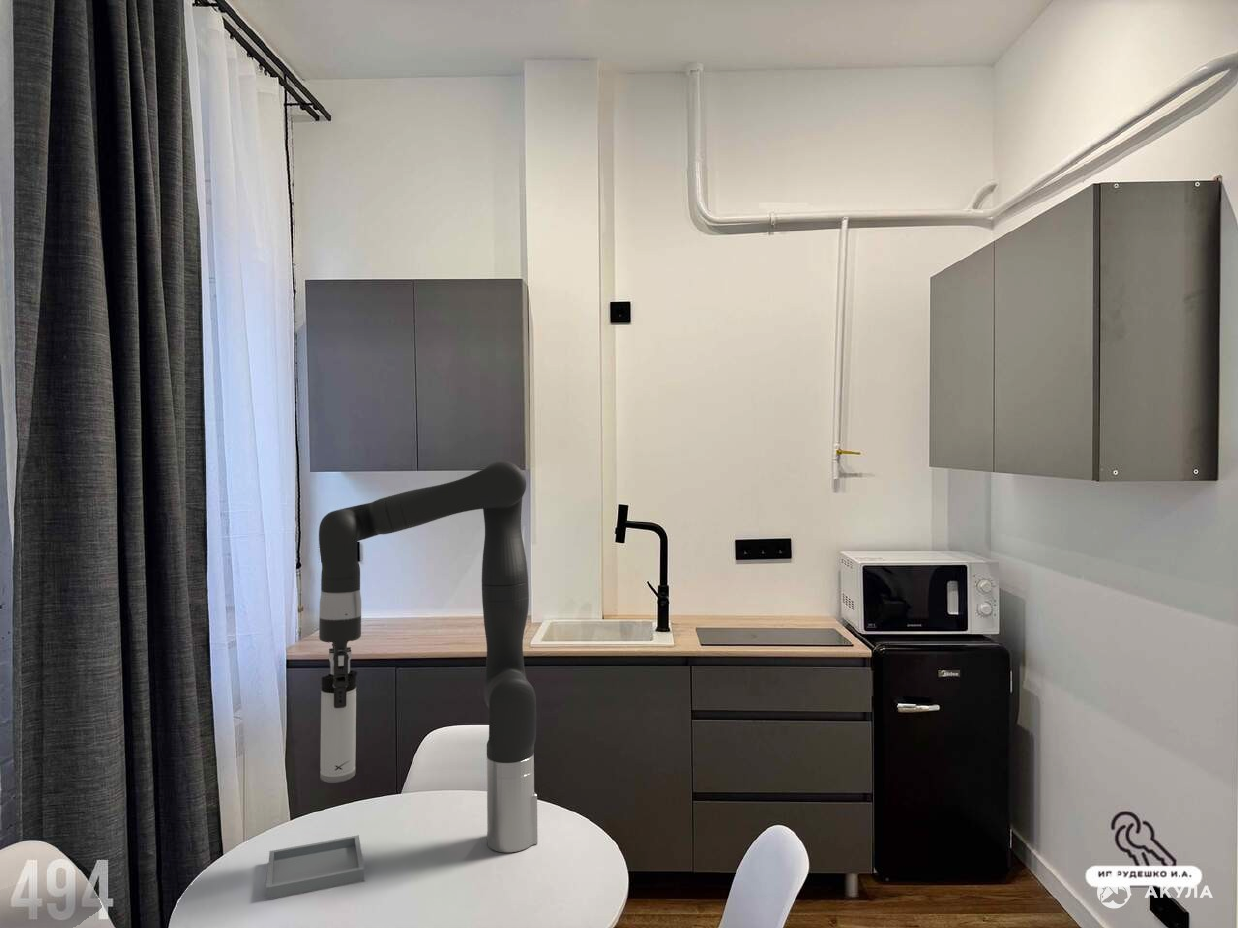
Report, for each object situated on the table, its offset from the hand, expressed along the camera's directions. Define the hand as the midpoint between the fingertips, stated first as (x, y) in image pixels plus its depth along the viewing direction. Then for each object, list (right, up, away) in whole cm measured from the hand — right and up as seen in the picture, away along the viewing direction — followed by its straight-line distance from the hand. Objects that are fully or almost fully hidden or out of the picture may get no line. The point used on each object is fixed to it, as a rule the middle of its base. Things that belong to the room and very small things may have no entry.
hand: (339, 701), depth 149 cm
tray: (-3, -30, -5) cm, 30 cm away
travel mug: (0, -14, 0) cm, 14 cm away
